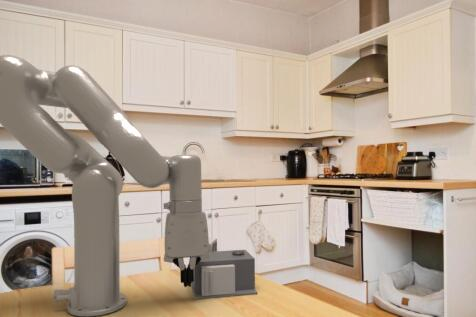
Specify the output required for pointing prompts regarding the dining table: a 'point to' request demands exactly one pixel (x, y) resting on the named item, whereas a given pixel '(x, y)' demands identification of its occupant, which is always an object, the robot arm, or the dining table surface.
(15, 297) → the dining table surface
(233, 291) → the door
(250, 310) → the dining table surface
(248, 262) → the camera case
